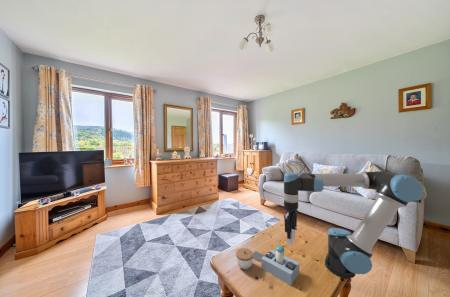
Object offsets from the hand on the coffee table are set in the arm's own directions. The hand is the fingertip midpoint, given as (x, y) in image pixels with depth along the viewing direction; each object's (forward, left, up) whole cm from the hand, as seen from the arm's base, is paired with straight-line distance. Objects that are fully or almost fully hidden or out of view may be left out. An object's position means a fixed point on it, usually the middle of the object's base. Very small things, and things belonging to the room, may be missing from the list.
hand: (290, 242), depth 92 cm
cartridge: (+7, 0, -17) cm, 18 cm away
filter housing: (+7, 0, -20) cm, 21 cm away
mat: (+23, -1, -20) cm, 30 cm away
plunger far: (+13, 0, -17) cm, 21 cm away
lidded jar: (+24, +11, -20) cm, 33 cm away
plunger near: (0, 0, -17) cm, 17 cm away
